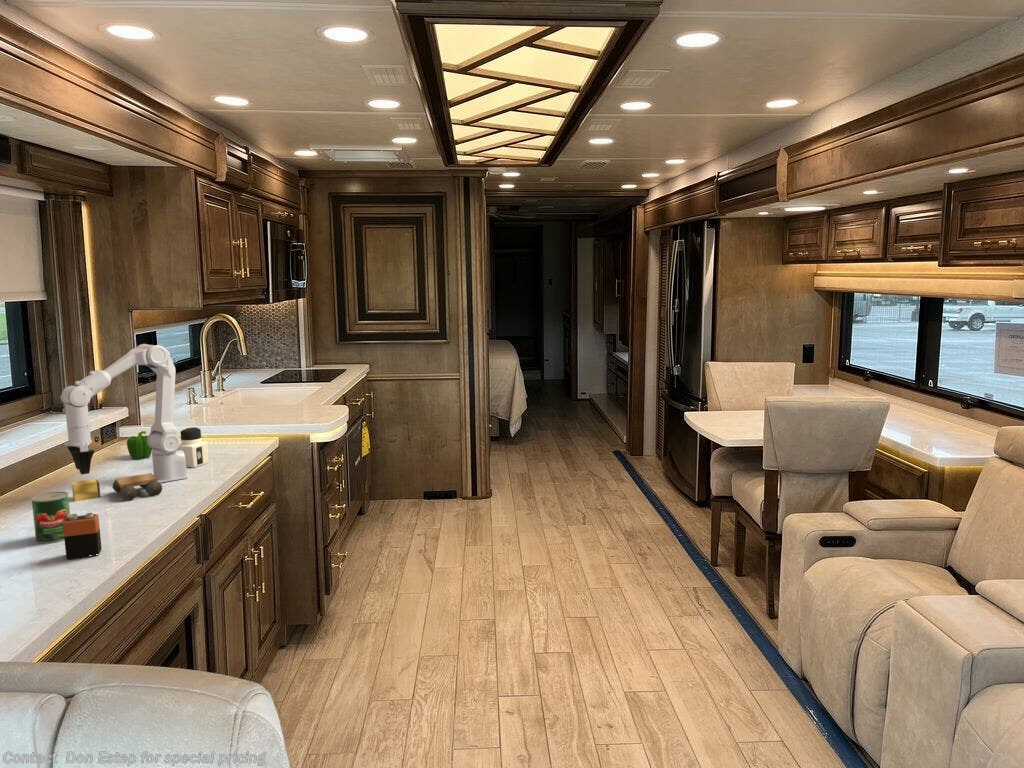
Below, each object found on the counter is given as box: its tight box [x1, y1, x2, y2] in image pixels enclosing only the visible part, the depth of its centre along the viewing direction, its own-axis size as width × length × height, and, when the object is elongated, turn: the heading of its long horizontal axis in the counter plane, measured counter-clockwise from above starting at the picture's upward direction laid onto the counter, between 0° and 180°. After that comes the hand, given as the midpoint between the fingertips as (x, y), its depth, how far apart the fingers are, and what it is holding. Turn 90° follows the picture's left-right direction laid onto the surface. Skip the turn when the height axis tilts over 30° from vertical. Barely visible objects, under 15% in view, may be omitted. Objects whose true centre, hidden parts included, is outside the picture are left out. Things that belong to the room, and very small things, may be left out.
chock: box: [71, 478, 101, 502], centre depth 218 cm, size 7×4×5 cm, turn 129°
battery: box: [63, 512, 102, 560], centre depth 173 cm, size 4×7×10 cm, turn 111°
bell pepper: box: [126, 430, 152, 460], centre depth 266 cm, size 8×8×10 cm
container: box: [177, 427, 210, 469], centre depth 255 cm, size 8×8×13 cm
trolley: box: [112, 472, 163, 502], centre depth 222 cm, size 11×11×5 cm
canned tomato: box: [30, 491, 71, 544], centre depth 184 cm, size 8×8×11 cm
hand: (82, 471), depth 217 cm, fingers open, 7 cm apart
